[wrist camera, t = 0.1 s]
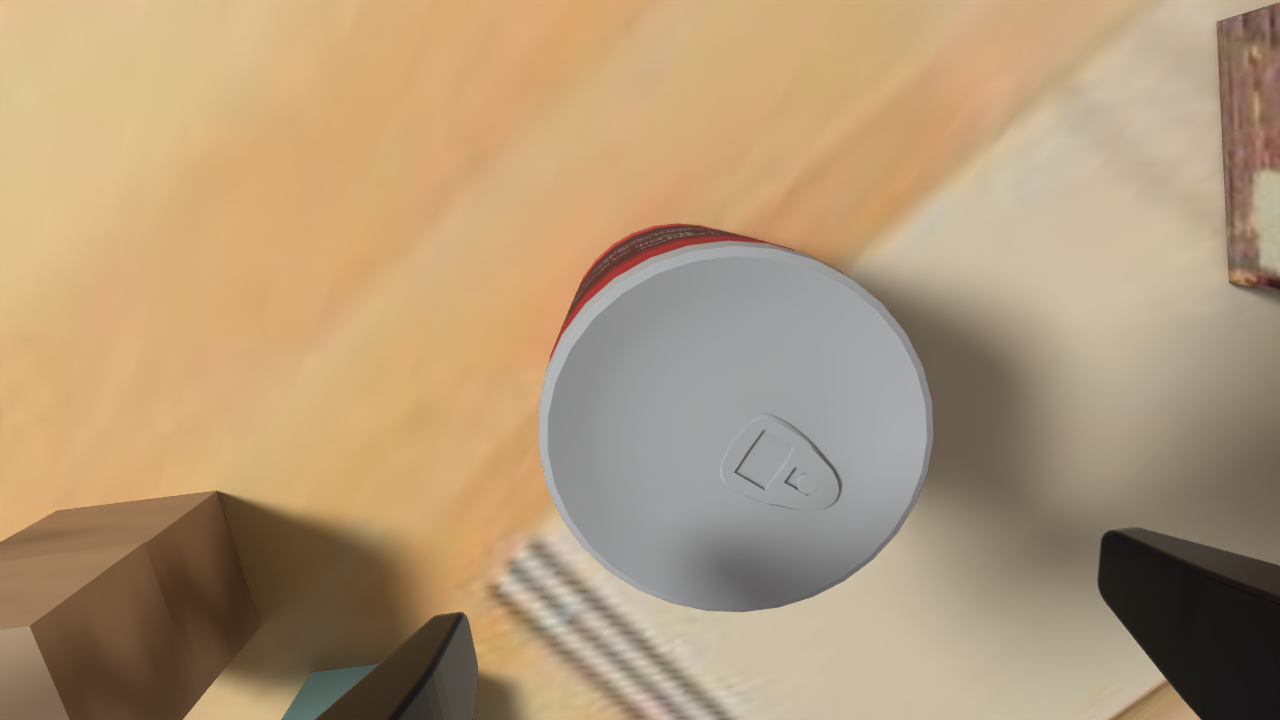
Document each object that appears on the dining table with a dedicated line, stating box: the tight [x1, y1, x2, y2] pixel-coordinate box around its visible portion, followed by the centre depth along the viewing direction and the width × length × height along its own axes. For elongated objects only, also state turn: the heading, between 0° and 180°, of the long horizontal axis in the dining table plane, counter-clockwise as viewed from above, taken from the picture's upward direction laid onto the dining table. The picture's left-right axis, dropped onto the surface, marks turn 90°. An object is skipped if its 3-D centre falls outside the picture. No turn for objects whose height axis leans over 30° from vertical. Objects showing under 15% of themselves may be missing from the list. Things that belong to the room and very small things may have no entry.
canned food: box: [539, 224, 934, 612], centre depth 17 cm, size 8×8×11 cm
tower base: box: [0, 491, 260, 698], centre depth 22 cm, size 6×6×4 cm
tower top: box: [0, 542, 200, 720], centre depth 18 cm, size 6×6×4 cm
